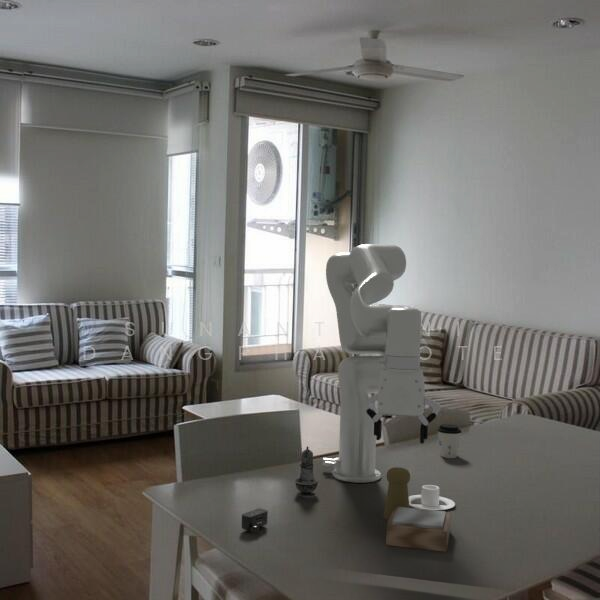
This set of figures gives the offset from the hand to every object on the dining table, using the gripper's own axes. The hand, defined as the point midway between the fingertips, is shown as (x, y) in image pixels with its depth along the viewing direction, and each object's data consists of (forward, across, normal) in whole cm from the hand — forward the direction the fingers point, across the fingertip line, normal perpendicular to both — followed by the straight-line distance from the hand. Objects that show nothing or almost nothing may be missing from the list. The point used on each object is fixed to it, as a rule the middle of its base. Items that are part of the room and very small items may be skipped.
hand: (400, 440), depth 176 cm
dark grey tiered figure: (+17, -23, +10) cm, 31 cm away
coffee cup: (+17, +8, +57) cm, 60 cm away
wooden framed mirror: (+18, +6, -11) cm, 22 cm away
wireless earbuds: (+18, -28, -16) cm, 37 cm away
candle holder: (+18, +6, +13) cm, 23 cm away
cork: (+18, 0, +1) cm, 18 cm away
